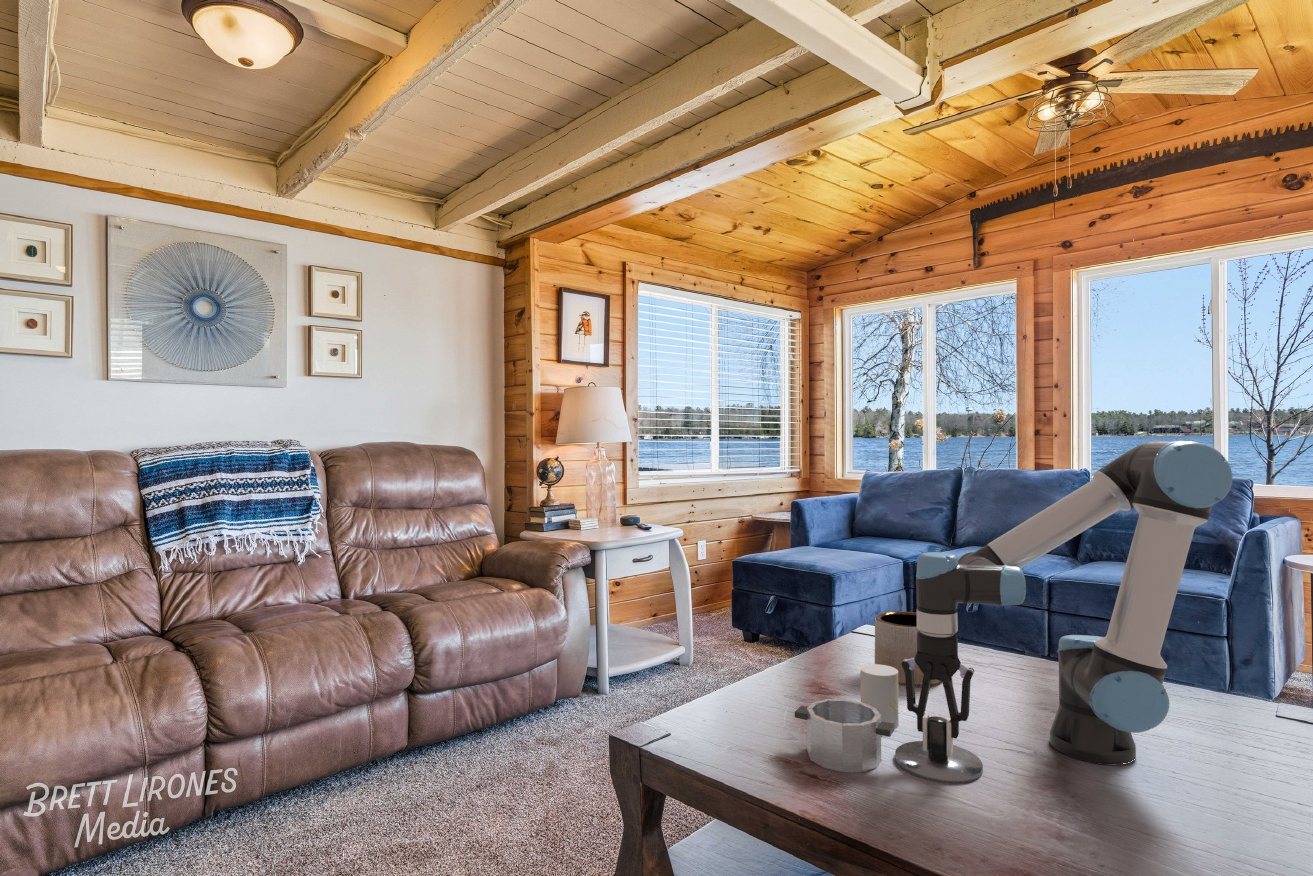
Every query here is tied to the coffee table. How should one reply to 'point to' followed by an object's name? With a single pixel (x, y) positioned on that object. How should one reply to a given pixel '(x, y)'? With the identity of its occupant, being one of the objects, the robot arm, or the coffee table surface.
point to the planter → (897, 643)
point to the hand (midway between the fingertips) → (938, 750)
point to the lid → (938, 758)
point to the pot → (844, 734)
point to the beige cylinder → (881, 691)
